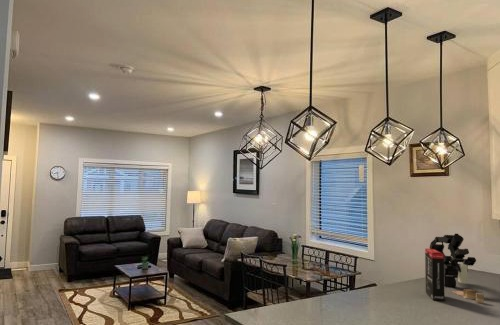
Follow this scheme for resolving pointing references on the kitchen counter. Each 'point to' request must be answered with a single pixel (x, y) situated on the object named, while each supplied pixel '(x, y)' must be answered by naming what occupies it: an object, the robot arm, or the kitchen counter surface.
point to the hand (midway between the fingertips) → (463, 272)
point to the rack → (473, 295)
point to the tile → (459, 292)
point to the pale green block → (462, 273)
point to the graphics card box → (434, 274)
